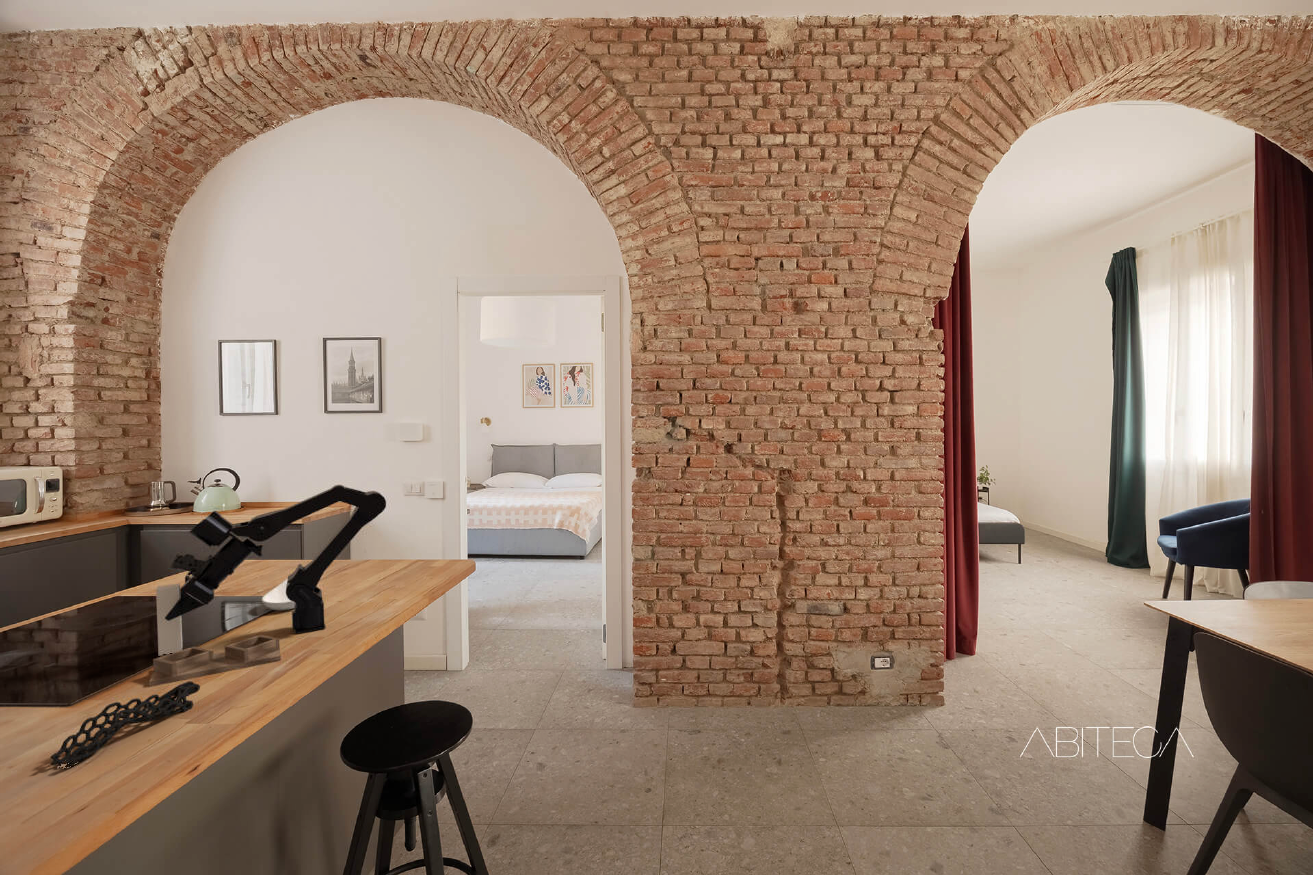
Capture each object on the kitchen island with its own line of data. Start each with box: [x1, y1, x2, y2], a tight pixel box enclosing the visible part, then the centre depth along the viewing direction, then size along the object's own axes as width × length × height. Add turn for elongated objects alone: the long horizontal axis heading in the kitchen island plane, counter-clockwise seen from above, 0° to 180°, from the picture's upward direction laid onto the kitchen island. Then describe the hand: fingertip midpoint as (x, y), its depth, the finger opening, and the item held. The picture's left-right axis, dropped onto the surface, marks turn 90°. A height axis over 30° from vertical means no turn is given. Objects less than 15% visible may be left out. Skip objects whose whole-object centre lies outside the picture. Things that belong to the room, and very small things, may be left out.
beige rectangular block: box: [155, 583, 183, 657], centre depth 137 cm, size 4×3×15 cm
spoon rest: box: [261, 578, 295, 611], centre depth 175 cm, size 24×12×7 cm, turn 15°
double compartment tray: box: [149, 634, 282, 687], centre depth 129 cm, size 22×10×4 cm, turn 124°
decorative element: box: [49, 680, 201, 768], centre depth 101 cm, size 22×5×6 cm, turn 172°
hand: (168, 614), depth 137 cm, fingers open, 9 cm apart
